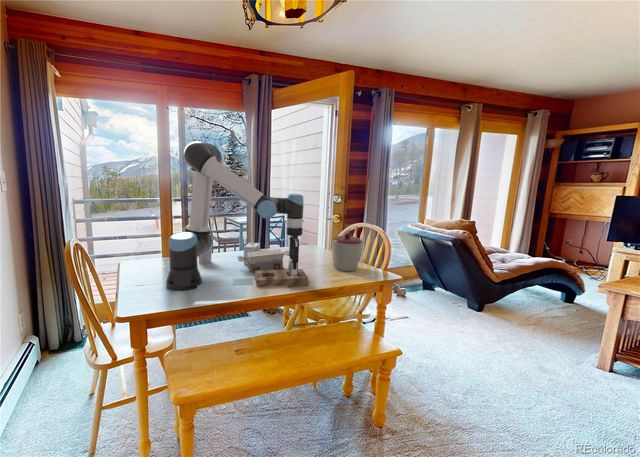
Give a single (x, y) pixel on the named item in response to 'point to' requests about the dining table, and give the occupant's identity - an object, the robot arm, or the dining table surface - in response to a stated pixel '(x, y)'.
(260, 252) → the electrical outlet
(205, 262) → the coffee cup
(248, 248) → the light bulb box
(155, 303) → the dining table surface
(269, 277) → the socket board
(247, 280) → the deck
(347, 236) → the canister
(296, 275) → the plug
